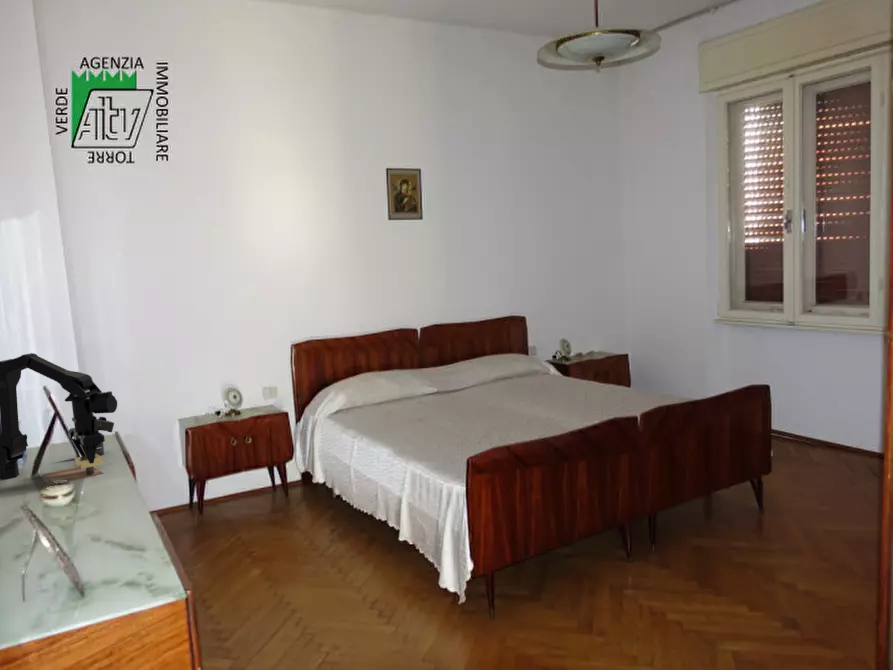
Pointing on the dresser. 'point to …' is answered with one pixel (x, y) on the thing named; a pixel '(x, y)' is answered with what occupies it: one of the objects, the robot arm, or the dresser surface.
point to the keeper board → (72, 473)
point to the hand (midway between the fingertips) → (88, 461)
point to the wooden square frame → (88, 461)
